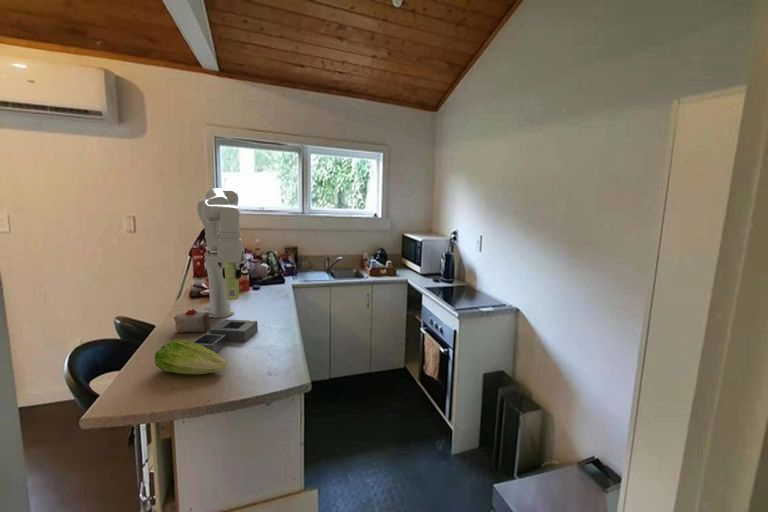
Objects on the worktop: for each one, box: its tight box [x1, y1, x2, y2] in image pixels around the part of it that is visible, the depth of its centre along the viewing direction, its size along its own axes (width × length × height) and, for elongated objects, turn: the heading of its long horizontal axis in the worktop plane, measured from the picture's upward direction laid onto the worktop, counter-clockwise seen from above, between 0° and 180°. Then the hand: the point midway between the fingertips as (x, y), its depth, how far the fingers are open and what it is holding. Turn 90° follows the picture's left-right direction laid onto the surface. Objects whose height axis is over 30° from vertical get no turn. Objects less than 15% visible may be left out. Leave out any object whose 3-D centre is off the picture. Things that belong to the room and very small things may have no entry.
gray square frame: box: [191, 333, 228, 354], centre depth 142 cm, size 10×11×4 cm
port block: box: [209, 319, 259, 344], centre depth 156 cm, size 15×13×5 cm
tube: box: [223, 258, 240, 301], centre depth 152 cm, size 6×5×20 cm
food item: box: [173, 308, 210, 334], centre depth 161 cm, size 14×8×10 cm, turn 98°
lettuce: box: [154, 339, 227, 375], centre depth 123 cm, size 12×24×13 cm
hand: (232, 277), depth 152 cm, fingers closed on tube, 4 cm apart
